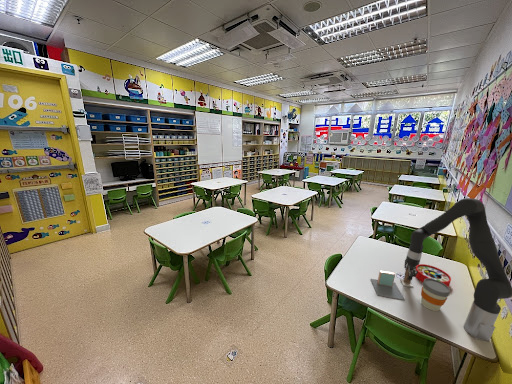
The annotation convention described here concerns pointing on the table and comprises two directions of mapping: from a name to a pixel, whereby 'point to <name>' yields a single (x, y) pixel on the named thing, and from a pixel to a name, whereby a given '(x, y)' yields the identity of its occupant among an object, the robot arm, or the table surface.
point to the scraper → (406, 279)
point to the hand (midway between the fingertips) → (408, 277)
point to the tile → (386, 278)
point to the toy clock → (432, 274)
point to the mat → (387, 290)
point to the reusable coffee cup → (434, 294)
